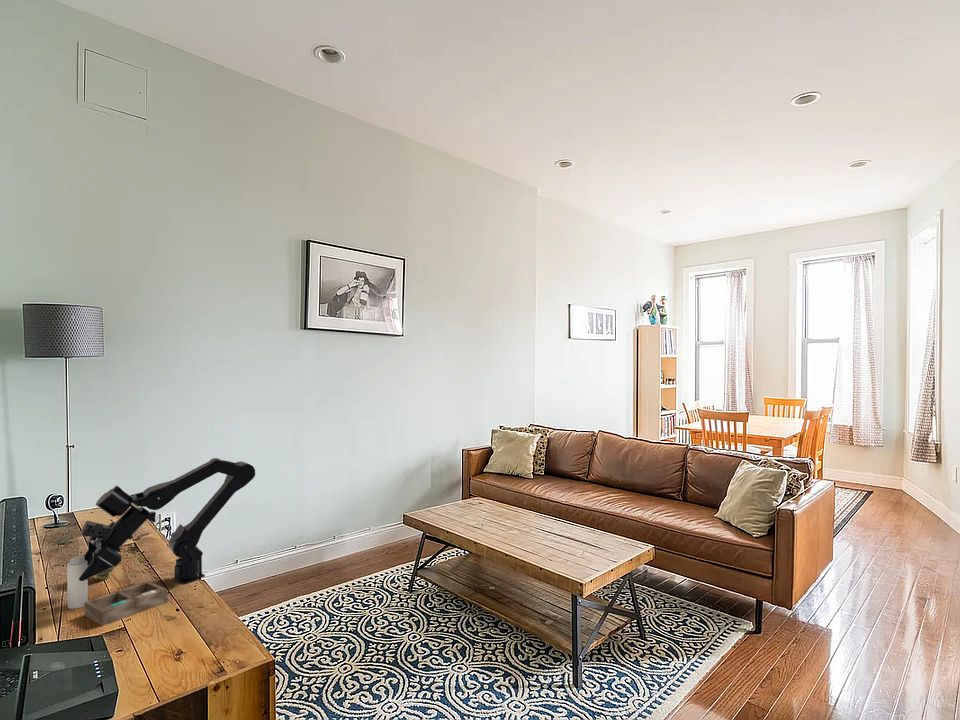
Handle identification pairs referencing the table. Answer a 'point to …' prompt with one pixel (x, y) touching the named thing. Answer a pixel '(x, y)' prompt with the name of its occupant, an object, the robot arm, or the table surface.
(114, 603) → the socket block
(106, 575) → the cup
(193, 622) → the table surface
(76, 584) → the plug
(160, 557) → the table surface
